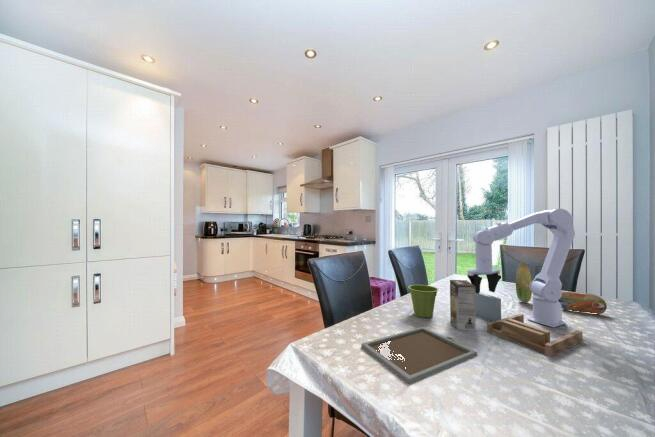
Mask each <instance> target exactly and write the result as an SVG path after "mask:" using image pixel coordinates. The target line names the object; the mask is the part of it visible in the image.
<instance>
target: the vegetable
mask: <svg viewBox="0 0 655 437" xmlns="http://www.w3.org/2000/svg"><path fill="white" fill-rule="evenodd" d="M515 274H516V275H515V292H516V293H515V294H516V297H517V299H518V301H520V302H521V303H525V304H526V303H529V302H530V301H531V300H532V297H533V293H532V292H531V290H530V288H529V285H530V283H531V282H532V281H533V280H532V274H531V270H530V267H529V266H528V265H527V262H526V261H520V263H519V264H518V266H517V268H516V273H515Z"/></svg>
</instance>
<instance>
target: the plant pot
mask: <svg viewBox="0 0 655 437" xmlns="http://www.w3.org/2000/svg"><path fill="white" fill-rule="evenodd" d="M407 288H408V289H409V293H410V296H411V301H412V307H413V313H414V315H415V316H416V317H419V318H432V317H433V316H434V311H435V310H434V309H435V303H436V297H437V294H438V292H439V288H438V287H435V286H432V285H427V284H426V285H425V284H410V285H408V287H407Z"/></svg>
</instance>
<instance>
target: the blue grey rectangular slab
mask: <svg viewBox="0 0 655 437" xmlns="http://www.w3.org/2000/svg"><path fill="white" fill-rule="evenodd" d="M476 315H478V316H480V317H483V318H485V319H488V320H490V321H491V322H493V321H496V320H500V319H502V298H499V297H496V296H494V295H491V294H487V293H484V292H481V291H480V293H476Z"/></svg>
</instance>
